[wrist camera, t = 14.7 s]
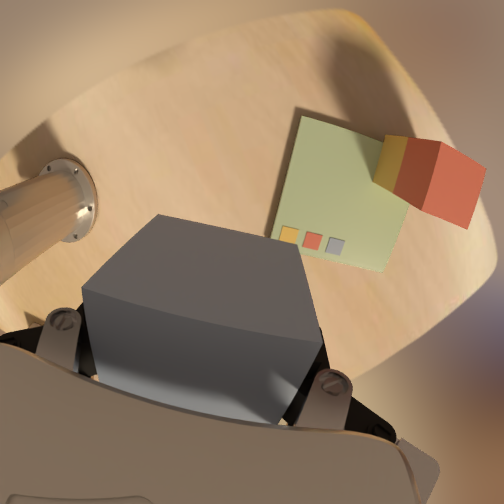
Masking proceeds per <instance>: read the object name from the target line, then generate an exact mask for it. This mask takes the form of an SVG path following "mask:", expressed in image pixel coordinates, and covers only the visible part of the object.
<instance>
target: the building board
mask: <svg viewBox="0 0 504 504" xmlns="http://www.w3.org/2000/svg"><path fill="white" fill-rule="evenodd" d="M382 146H383V142H381V141H378V140H375V139H373V138H370V137H367V136H365V135H362V134H359V133H356V132H354V131H351V130H348V129H345V128H342V127H339V126H335V125H332V124H329V123H326V122H323V121H319V120H316V119H312V118H309V117H305V116H301V117H300V121H299V125H298V130H297V134H296V138H295V142H294V146H293V150H292V154H291V158H290V161H289V165H288V169H287V173H286V177H285V181H284V185H283V189H282V193H281V197H280V201H279V204H278V208H277V212H276V216H275V220H274V224H273V228H272V231H271V235H270V238H271V239H276V240H280V241H284V242H289V243H293V244H297V245H298V249H299V252H300V254H303V255H307V256H311V257H316V258H320V259H325V260H329V261H333V262H338V263H342V264H346V265H351V266H355V267H359V268H364V269H368V270H372V271H376V272H381V273H383V271H384V269H385V267H386V264H387V262H388V260H389V257H390V255H391V252H392V250H393V247H394V245H395V242H396V240H397V237H398V235H399V232H400V229H401V227H402V224H403V221H404V218H405V216H406V213H407V210H408V207H409V203H408V202H406V201H404V200H403V199H401V198H399V197H398V196H396V195H394V194H392V193H391V192H390V191H388V190H386V189H384V188H383V187H381V186H379V185H377V184H375V183H373V182H372V181H373V178H374V174H375V171H376V168H377V164H378V161H379V157H380V153H381V150H382Z"/></svg>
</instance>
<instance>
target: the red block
mask: <svg viewBox="0 0 504 504" xmlns="http://www.w3.org/2000/svg"><path fill="white" fill-rule="evenodd" d="M485 172H486V168H484V167H483V166H481V165H480V164H478V163H477V162H475V161H474V160H472V159H470V158H469V157H467V156H465V155H464V154H462V153H460V152H459V151H457V150H455V149H454V148H452V147H450V146H448V145H446V144H445V143H443V142H440V141H433V140H426V139H419V138H411V137H408V141H407V145H406V149H405V152H404V156H403V160H402V163H401V167H400V170H399V174H398V177H397V180H396V184H395V187H394V190H393V193H392V194H394V195H396V196H398V197H399V198H401V199H403V200H404V201H406V202H408V203H409V204H411V205H413V206H414V207H416V208H418V209H419V210H421V211H423V212H426V213H428V214H431V215H433V216H436V217H438V218H441V219H443V220H446V221H448V222H451V223H453V224H455V225H458V226H460V227H462V228H465V229H468V226H469V224H470V221H471V218H472V215H473V212H474V209H475V206H476V203H477V200H478V197H479V194H480V190H481V186H482V184H483V180H484V176H485Z"/></svg>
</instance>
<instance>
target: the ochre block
mask: <svg viewBox="0 0 504 504" xmlns="http://www.w3.org/2000/svg"><path fill="white" fill-rule="evenodd" d="M407 141H408V137H403V136H393V135H385V138H384V142H383V146H382V150H381V153H380V157H379V161H378V164H377V168H376V171H375V174H374V178H373V181H372V182H373V183H375V184H377V185H379V186H381V187H383V188H384V189H386V190H388V191H390V192H391V193H393V190H394V187H395V184H396V180H397V177H398V174H399V170H400V167H401V163H402V160H403V156H404V152H405V149H406V145H407Z"/></svg>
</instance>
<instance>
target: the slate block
mask: <svg viewBox="0 0 504 504" xmlns="http://www.w3.org/2000/svg"><path fill="white" fill-rule="evenodd" d="M81 288H82V296H83V304H84V311H85V317H86V323H87V329H88V334H89V339H90V344H91V349H92V354H93V358H94V362H95V367H96V371H97V375H98V378H99V382H101V383H104V384H106V385H109V386H112V387H114V388H117V389H120V390H123V391H126V392H129V393H132V394H135V395H138V396H141V397H145V398H148V399H151V400H155V401H158V402H162V403H165V404H169V405H173V406H177V407H181V408H185V409H189V410H193V411H198V412H202V413H207V414H212V415H217V416H222V417H227V418H233V419H239V420H245V421H252V422H259V423H267V424H276V425H278V423H279V421H280V420H281V418H282V416H283V415H284V413H285V411H286V410H287V408H288V406H289V405H290V403H291V401H292V400H293V398H294V396H295V394H296V393H297V391H298V389H299V387H300V386H301V384H302V382H303V380H304V378H305V376H306V375H307V373H308V371H309V369H310V367H311V365H312V363H313V361H314V360H315V358H316V356H317V354H318V352H319V350H320V348H321V346H322V344H323V341H322V337H321V332H320V328H319V324H318V320H317V316H316V312H315V308H314V304H313V300H312V297H311V293H310V289H309V285H308V281H307V278H306V274H305V270H304V267H303V263H302V259H301V256H300V252H299V249H298V245H297V244H293V243H289V242H284V241H280V240H276V239H271V238H267V237H262V236H258V235H253V234H249V233H244V232H240V231H235V230H230V229H226V228H221V227H216V226H212V225H207V224H202V223H198V222H193V221H188V220H183V219H179V218H174V217H169V216H164V215H159V214H158V215H157V216H155V217H154V218H153V219H152V220H151V221H150V222H149V223H148V224H146V225H145V226H144V227H143V228H142V229H141V230H140V231H139V232H138V233H136V234H135V235H134V236H133V237H132V238H131V239H130V240H129V241H128V242H127V243H126V244H125V245H124V246H122V247H121V248H120V249H119V250H118V251H117V252H116V253H115V254H114V255H113V256H112V257H111V258H110V259H109V260H108V261H107V262H106V263H105V264H104V265H103V266H102V267H101V268H100V269H99V270H98V271H97V272H96V273H95V274H94V275H93V276H92V277H91V278H90V279H89V280H88V281H87V282H86V283H85V284H84V285H83V286H82V287H81Z"/></svg>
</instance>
